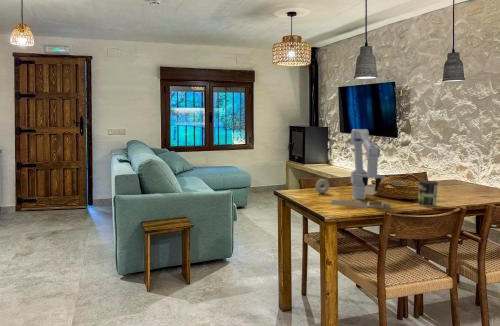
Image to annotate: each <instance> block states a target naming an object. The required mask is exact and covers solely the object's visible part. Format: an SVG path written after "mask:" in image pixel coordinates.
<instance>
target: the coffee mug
mask: <svg viewBox="0 0 500 326" xmlns="http://www.w3.org/2000/svg"><path fill="white" fill-rule="evenodd" d="M388 183H390V184H395V185H405V186H406V183H405V182H403V181H396V180H395V181H393V180H391V181H388Z"/></svg>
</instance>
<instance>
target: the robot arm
mask: <svg viewBox="0 0 500 326" xmlns="http://www.w3.org/2000/svg"><path fill="white" fill-rule="evenodd" d="M369 136H370V132H369V130H368V129H367V128H361V129H359V128H353V129H352V130H351V132H350V141H351V143H352V144H353V149H354V151H353V152H354V154H353V155H354V168H355V169H354V170H351V173H350V183H351V184H352V196H351V199H354V200H366V194H365V186H366V185H368V184H369V179H375V185H376V188H375V191H376V192H377V193H378V189H379V185H380V184H381V182H382V181H383V180H386V176H385V175H379V174H378V166H379V165H378V164H379V163H378V162H379V157H380V155H381V150H380V147H379V146H376V145H375V143H374V142H373V140H372V139H370V138H369ZM363 147H364V149H365V151H366V152H365V154H366V160H367V166H366V170H365V169H364V165H363V164H364V163H363Z"/></svg>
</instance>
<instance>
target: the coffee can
mask: <svg viewBox="0 0 500 326" xmlns="http://www.w3.org/2000/svg"><path fill="white" fill-rule="evenodd" d="M418 184H419V185H418V199H417V200H418V201H417V205H418V204H419V205H418V206H420V205H422V206H421V207H425V206H435V207H437V201H438V200H437V199H438V198H437V197H438V187H439V185H438V184H439V182H438V181H435V180H423V179H422V180H419V181H418Z"/></svg>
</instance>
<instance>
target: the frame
mask: <svg viewBox="0 0 500 326" xmlns="http://www.w3.org/2000/svg"><path fill="white" fill-rule="evenodd" d="M366 202H367V207H366V208H374V207H375V209H376V208H377V209H384V208H383V204H384V201H378V200H377V201H376V200H375V201H374V200H368V201H366ZM369 203H378V204H382V206H376V205H369Z"/></svg>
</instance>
